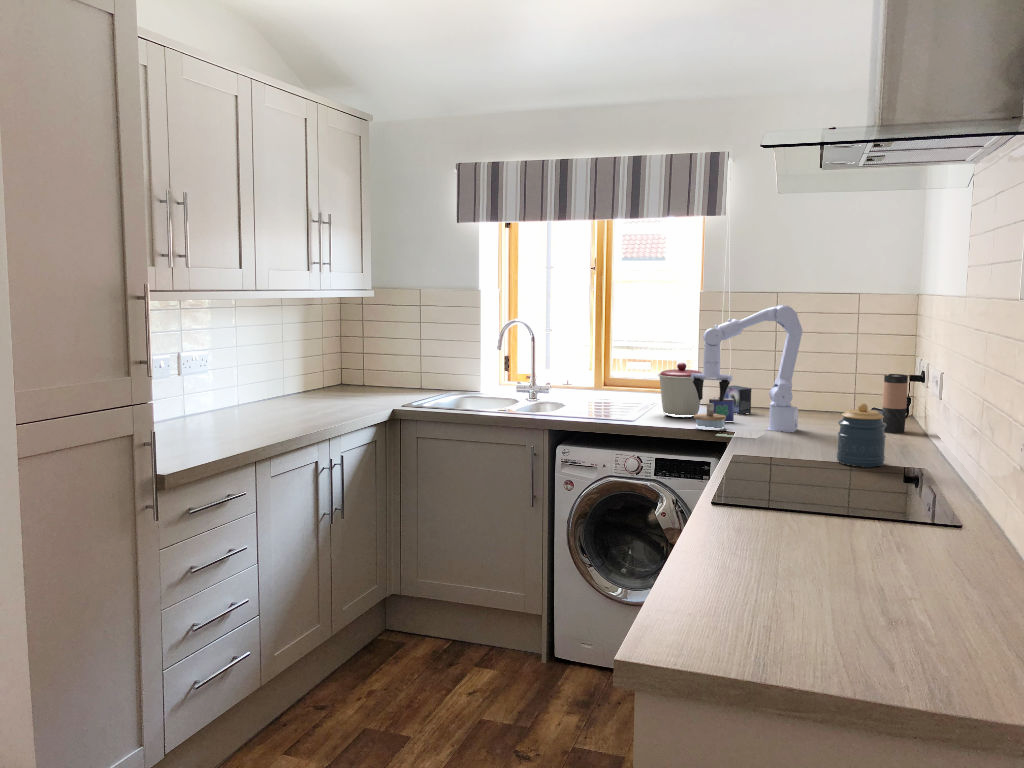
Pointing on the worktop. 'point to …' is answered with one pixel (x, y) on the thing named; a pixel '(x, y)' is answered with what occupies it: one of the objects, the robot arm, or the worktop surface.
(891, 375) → the travel mug
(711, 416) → the lid
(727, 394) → the small box
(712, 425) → the bowl
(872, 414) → the canister
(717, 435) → the mat
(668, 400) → the canister
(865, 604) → the worktop surface
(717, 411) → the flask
